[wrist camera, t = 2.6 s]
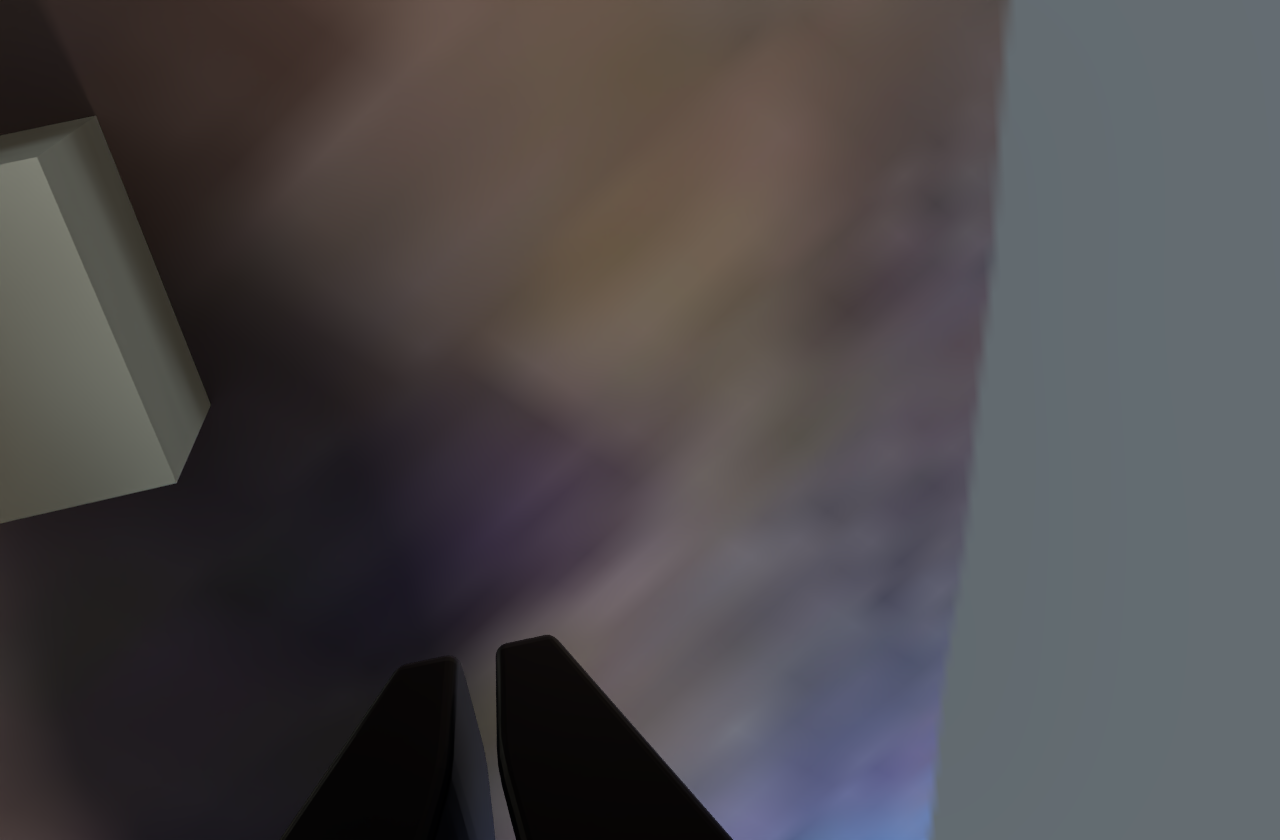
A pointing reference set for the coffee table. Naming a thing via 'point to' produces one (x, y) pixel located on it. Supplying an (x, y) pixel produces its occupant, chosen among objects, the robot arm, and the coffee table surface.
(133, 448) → the tile
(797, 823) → the coffee table surface
